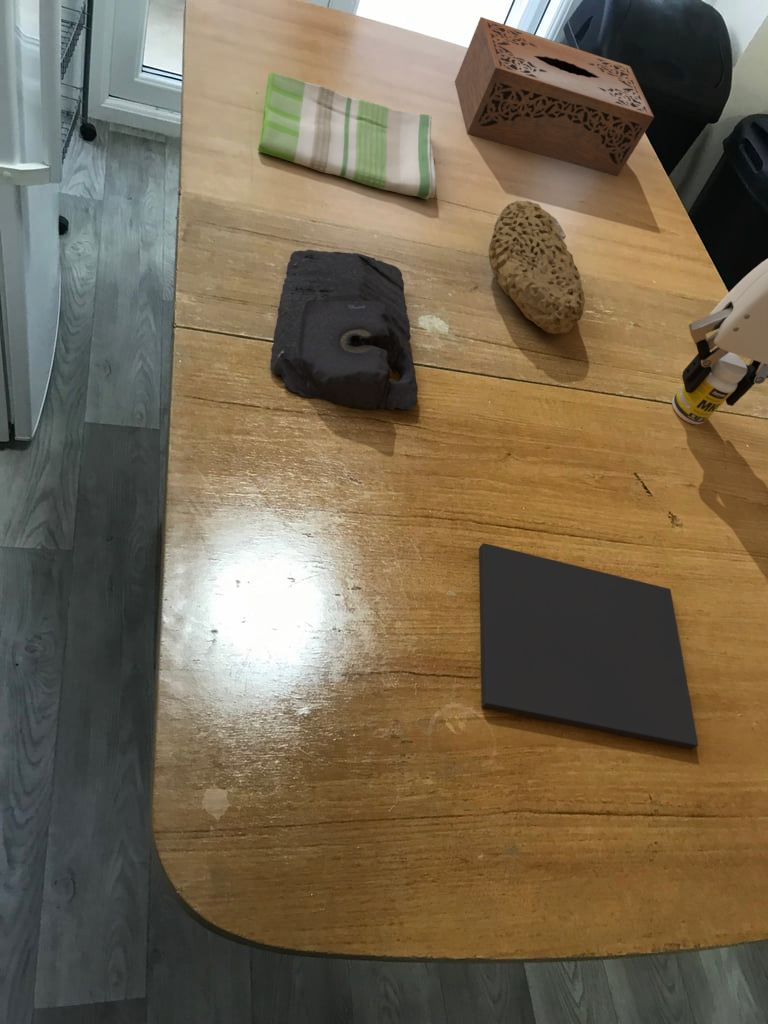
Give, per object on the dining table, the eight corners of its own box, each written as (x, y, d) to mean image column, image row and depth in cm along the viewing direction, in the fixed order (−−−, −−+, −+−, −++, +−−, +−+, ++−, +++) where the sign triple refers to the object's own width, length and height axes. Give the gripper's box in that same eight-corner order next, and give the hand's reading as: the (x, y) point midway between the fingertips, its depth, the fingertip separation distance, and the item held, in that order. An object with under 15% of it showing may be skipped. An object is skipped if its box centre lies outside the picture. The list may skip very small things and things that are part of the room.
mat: (664, 593, 83) (670, 588, 82) (691, 749, 73) (698, 745, 73) (478, 548, 79) (482, 542, 78) (481, 708, 69) (486, 703, 68)
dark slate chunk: (413, 286, 98) (427, 253, 95) (413, 425, 85) (430, 393, 81) (285, 249, 94) (295, 214, 91) (265, 388, 81) (276, 354, 78)
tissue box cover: (467, 133, 123) (495, 67, 116) (454, 81, 131) (480, 16, 124) (617, 176, 131) (654, 117, 123) (597, 124, 139) (630, 66, 132)
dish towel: (431, 207, 109) (441, 183, 106) (256, 157, 103) (262, 130, 100) (425, 134, 119) (434, 111, 116) (265, 85, 113) (270, 59, 110)
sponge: (479, 232, 111) (471, 294, 96) (515, 182, 107) (513, 239, 91) (558, 287, 115) (562, 355, 99) (596, 240, 110) (607, 304, 94)
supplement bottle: (682, 426, 100) (727, 378, 93) (664, 396, 102) (706, 347, 95) (712, 424, 102) (757, 377, 95) (693, 395, 104) (736, 347, 97)
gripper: (873, 272, 89) (760, 387, 103) (737, 222, 85) (638, 349, 99) (895, 318, 85) (774, 432, 99) (753, 268, 81) (647, 394, 95)
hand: (707, 389), depth 99 cm, fingers closed on supplement bottle, 4 cm apart
